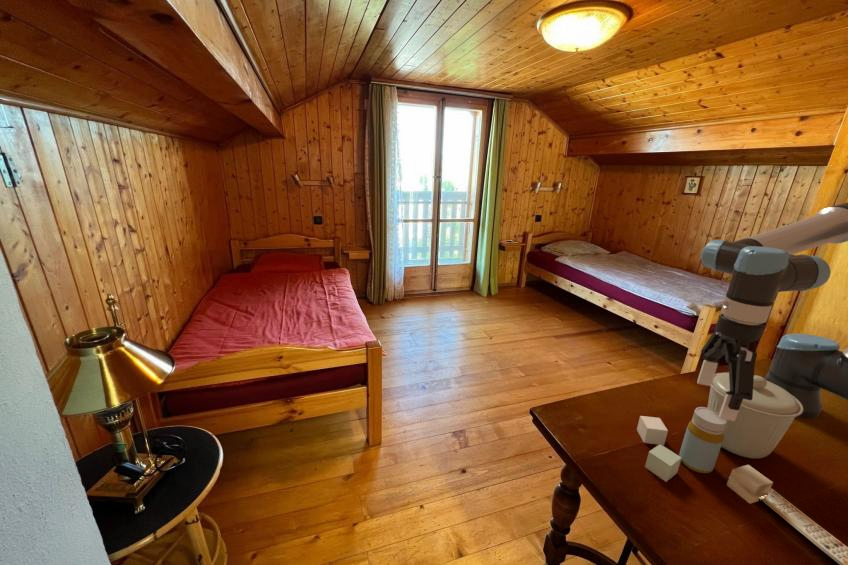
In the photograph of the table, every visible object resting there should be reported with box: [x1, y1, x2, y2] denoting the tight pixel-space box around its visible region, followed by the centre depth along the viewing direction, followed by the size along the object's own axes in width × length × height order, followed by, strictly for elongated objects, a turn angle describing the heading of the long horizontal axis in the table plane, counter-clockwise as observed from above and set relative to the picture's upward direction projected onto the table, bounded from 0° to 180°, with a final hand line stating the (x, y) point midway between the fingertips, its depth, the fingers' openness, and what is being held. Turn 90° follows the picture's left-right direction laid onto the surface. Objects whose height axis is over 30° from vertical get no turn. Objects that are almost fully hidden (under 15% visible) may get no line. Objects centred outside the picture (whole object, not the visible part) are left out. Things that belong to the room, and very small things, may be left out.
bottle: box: [678, 406, 727, 474], centre depth 86 cm, size 7×7×15 cm
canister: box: [707, 371, 803, 460], centre depth 92 cm, size 18×18×21 cm
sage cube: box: [644, 444, 682, 483], centre depth 86 cm, size 5×5×5 cm
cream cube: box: [636, 415, 669, 446], centre depth 97 cm, size 5×5×5 cm
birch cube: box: [726, 464, 774, 504], centre depth 81 cm, size 5×5×5 cm
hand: (714, 400), depth 83 cm, fingers open, 13 cm apart
